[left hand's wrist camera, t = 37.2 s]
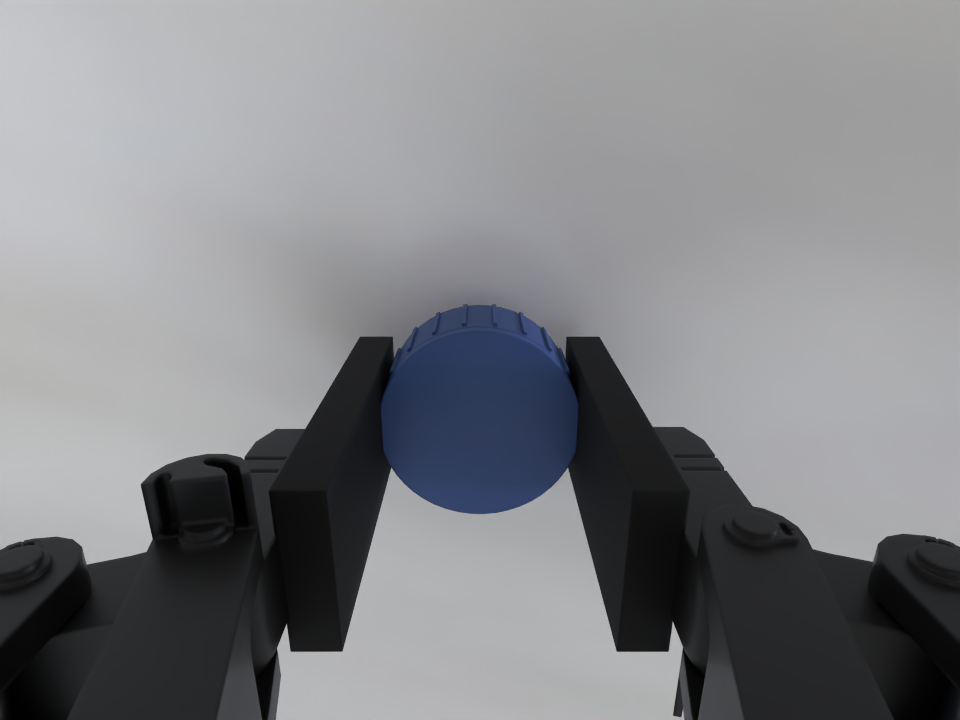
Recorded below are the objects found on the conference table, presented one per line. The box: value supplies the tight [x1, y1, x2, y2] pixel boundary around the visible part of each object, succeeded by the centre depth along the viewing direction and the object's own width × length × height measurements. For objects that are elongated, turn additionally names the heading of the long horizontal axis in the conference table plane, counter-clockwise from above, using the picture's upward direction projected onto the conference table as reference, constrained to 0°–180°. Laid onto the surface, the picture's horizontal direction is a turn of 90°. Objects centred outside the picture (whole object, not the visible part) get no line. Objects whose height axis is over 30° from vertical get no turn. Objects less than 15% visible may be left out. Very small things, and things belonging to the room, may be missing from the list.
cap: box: [381, 304, 578, 514], centre depth 13 cm, size 4×4×2 cm
